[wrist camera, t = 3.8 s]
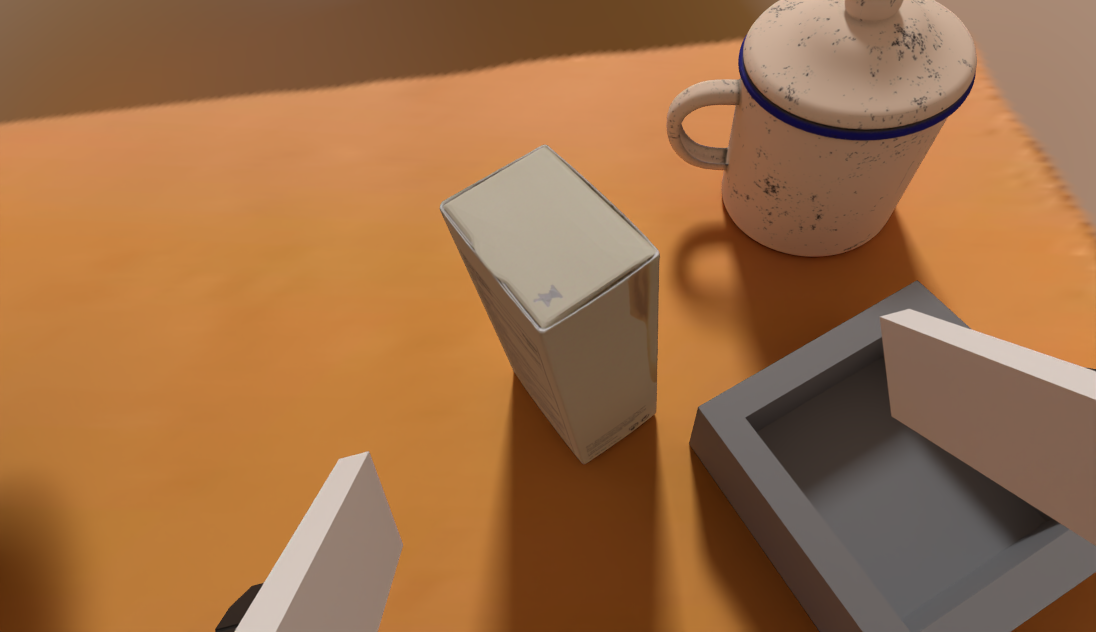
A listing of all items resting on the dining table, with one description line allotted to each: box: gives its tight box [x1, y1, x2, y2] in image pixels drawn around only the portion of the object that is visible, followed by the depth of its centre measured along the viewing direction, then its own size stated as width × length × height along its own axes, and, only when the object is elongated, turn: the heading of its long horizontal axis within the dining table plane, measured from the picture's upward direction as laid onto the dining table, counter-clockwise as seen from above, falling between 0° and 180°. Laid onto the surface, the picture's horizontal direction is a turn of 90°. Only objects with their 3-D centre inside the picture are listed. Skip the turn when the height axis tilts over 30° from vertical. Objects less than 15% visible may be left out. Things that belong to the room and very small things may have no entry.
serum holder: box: [689, 280, 1096, 632], centre depth 22 cm, size 10×10×4 cm
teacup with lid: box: [667, 0, 977, 257], centre depth 27 cm, size 12×9×12 cm
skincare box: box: [440, 145, 660, 464], centre depth 23 cm, size 6×4×12 cm
